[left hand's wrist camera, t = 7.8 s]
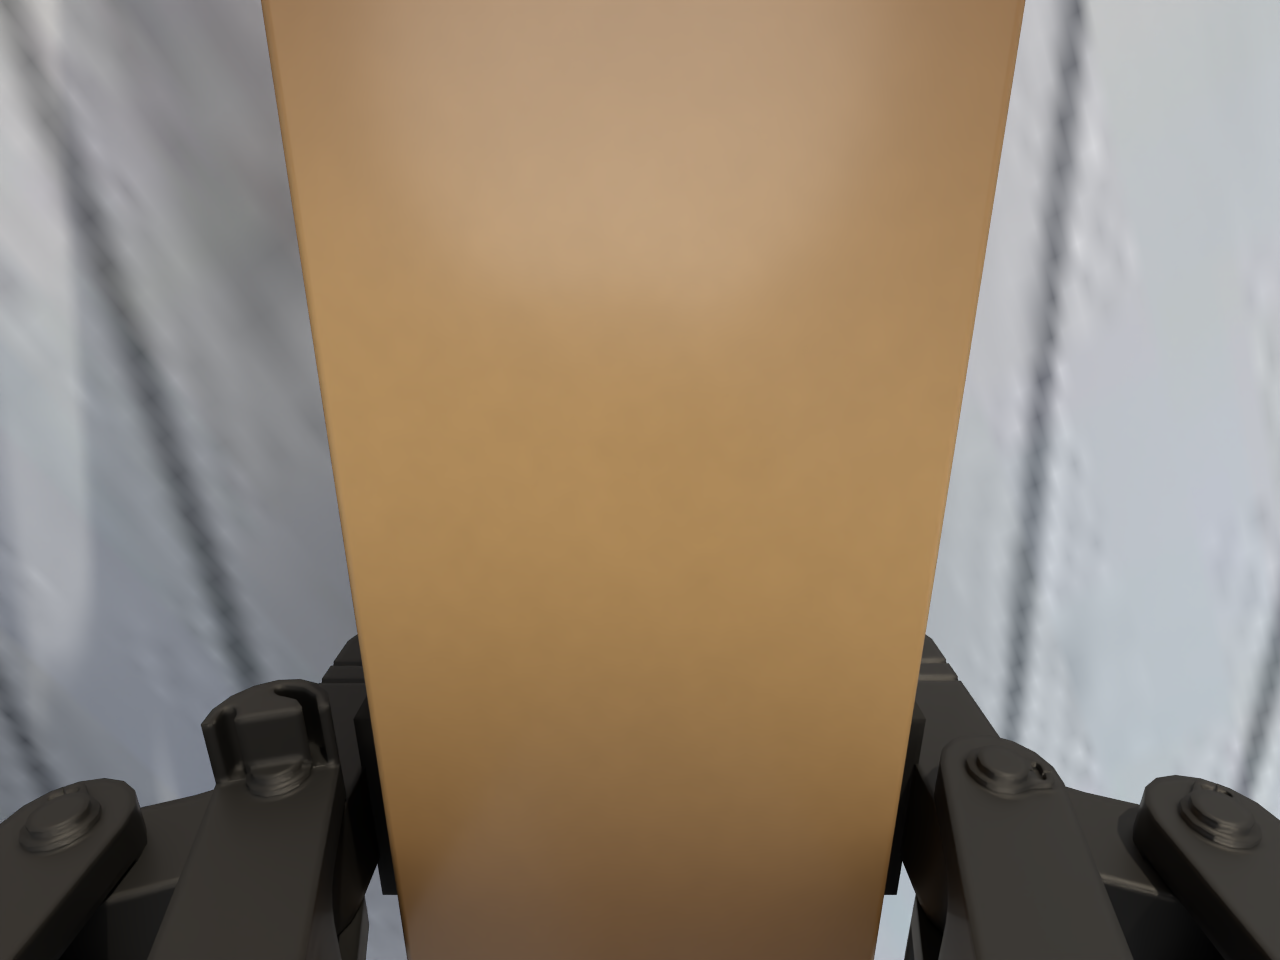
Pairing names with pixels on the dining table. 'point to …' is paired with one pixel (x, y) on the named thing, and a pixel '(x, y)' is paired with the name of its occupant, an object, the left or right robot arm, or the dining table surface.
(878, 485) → the bar
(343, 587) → the dining table surface
